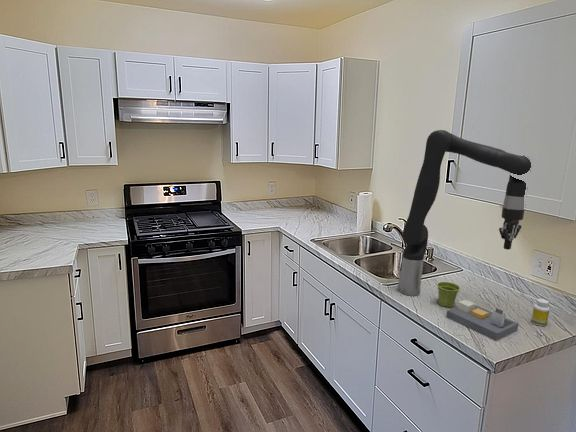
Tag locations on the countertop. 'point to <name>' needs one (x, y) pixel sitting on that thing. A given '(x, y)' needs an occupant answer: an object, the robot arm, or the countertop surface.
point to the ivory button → (466, 306)
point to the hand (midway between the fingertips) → (507, 248)
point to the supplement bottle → (540, 312)
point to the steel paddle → (498, 317)
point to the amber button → (479, 314)
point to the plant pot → (447, 293)
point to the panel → (483, 323)
